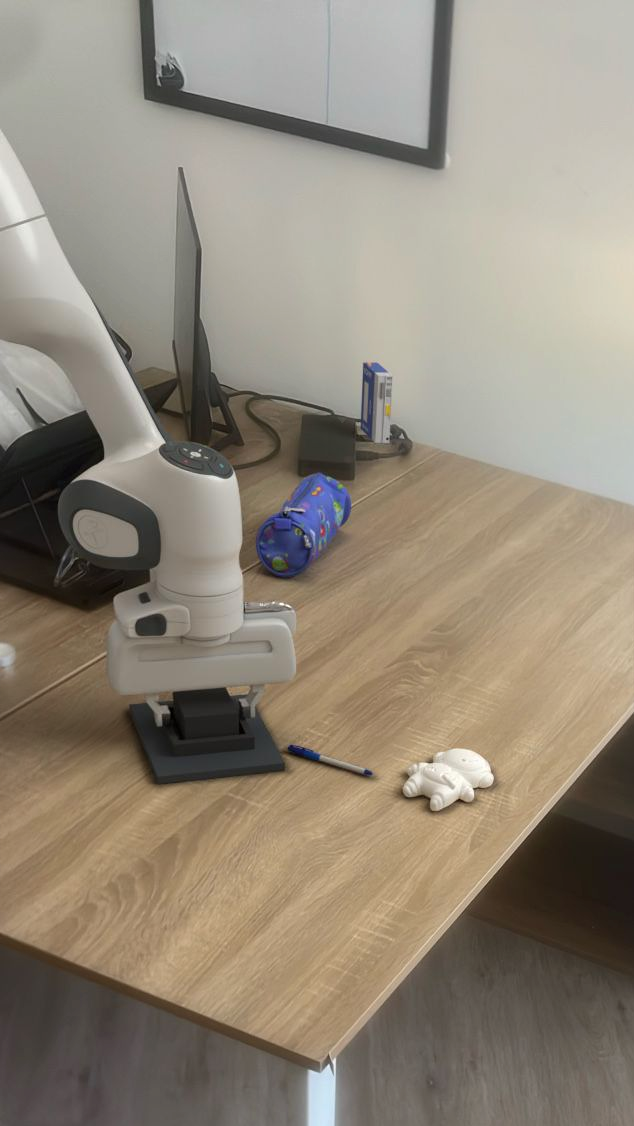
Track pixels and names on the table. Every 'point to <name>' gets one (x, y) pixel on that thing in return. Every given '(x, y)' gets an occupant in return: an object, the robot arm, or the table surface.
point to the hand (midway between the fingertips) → (205, 719)
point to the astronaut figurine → (448, 777)
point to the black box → (205, 713)
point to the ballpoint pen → (326, 759)
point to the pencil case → (303, 525)
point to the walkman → (376, 402)
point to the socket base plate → (205, 748)
